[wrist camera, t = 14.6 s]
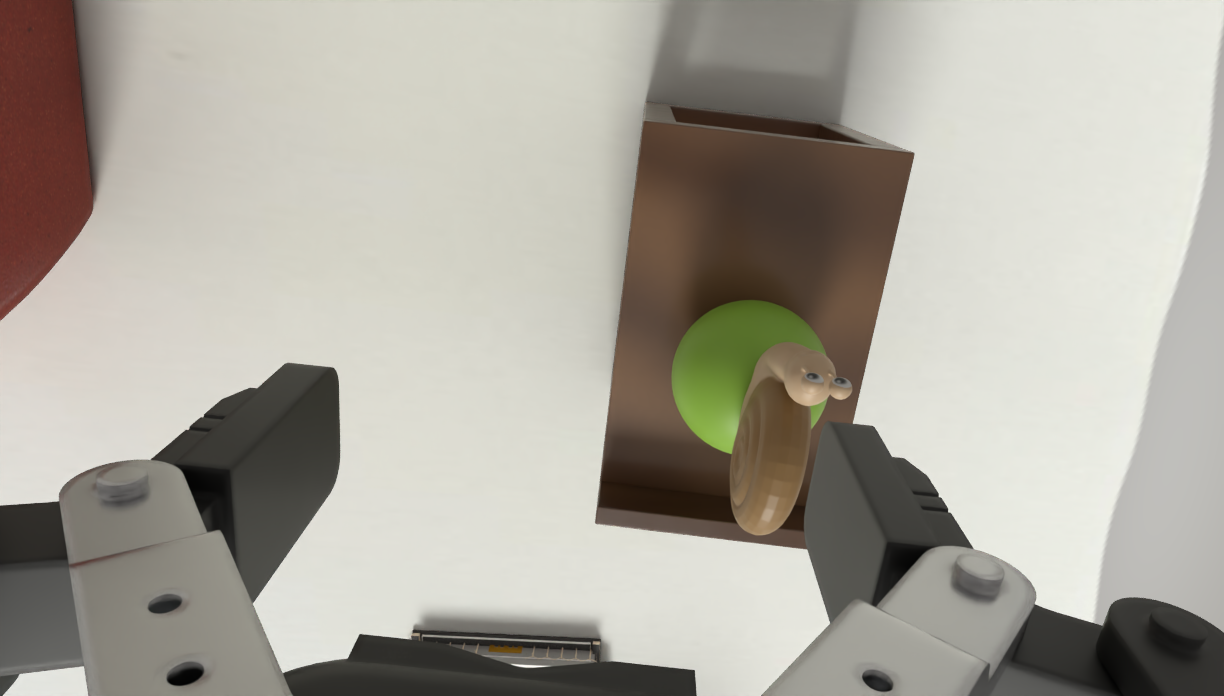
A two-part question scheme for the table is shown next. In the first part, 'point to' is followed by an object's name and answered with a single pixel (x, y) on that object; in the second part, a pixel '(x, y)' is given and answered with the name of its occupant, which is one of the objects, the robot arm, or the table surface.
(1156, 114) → the table surface
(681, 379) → the snail figurine
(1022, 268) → the table surface
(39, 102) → the flower pot
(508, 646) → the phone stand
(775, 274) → the box
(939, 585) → the robot arm
